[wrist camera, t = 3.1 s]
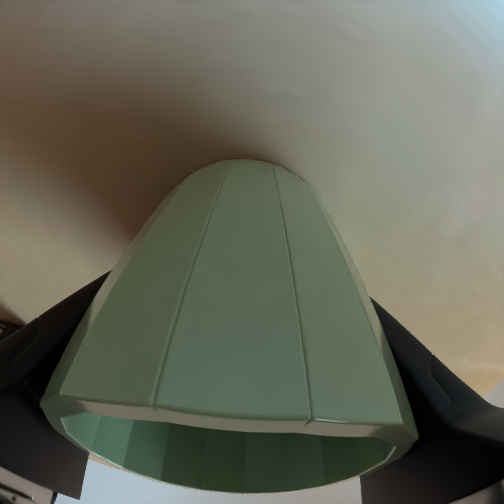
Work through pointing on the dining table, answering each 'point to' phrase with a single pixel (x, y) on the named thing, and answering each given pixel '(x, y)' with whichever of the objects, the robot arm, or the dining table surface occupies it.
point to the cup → (234, 347)
